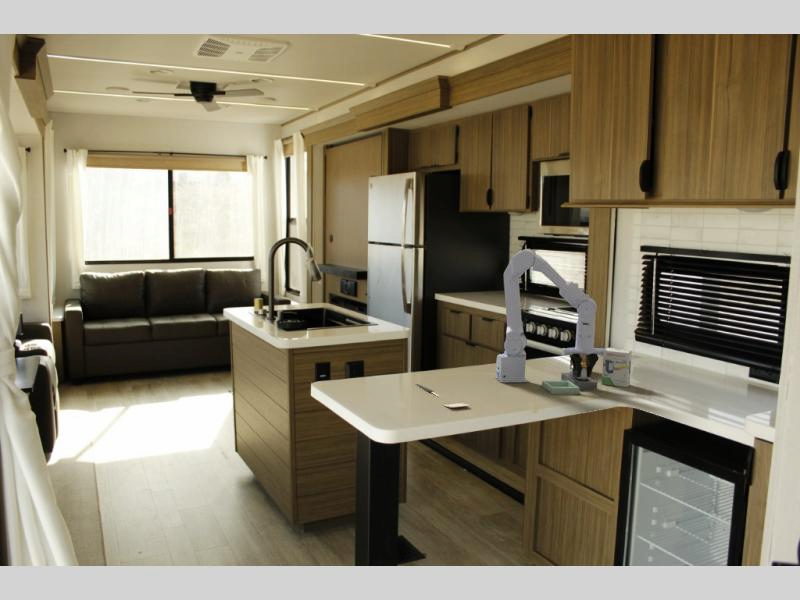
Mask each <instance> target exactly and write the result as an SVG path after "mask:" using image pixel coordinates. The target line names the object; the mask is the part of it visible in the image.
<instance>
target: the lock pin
mask: <svg viewBox="0 0 800 600" xmlns="http://www.w3.org/2000/svg"><path fill="white" fill-rule="evenodd" d="M587 374H588V364H587V363H581V367H580V377H578V381H587Z"/></svg>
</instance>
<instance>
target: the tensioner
mask: <svg viewBox="0 0 800 600" xmlns="http://www.w3.org/2000/svg"><path fill="white" fill-rule="evenodd" d="M560 381H570V382H571V383H573V384H574V385H576V386H578V387H579V388H580V390H579V391H590V390H591V391H593V390H597V389H598V381H596V380H594V379H593V378H591V377H587V381H578V377H576V376H575V371H574V366H573V363H571V372H561V375H560Z"/></svg>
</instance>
